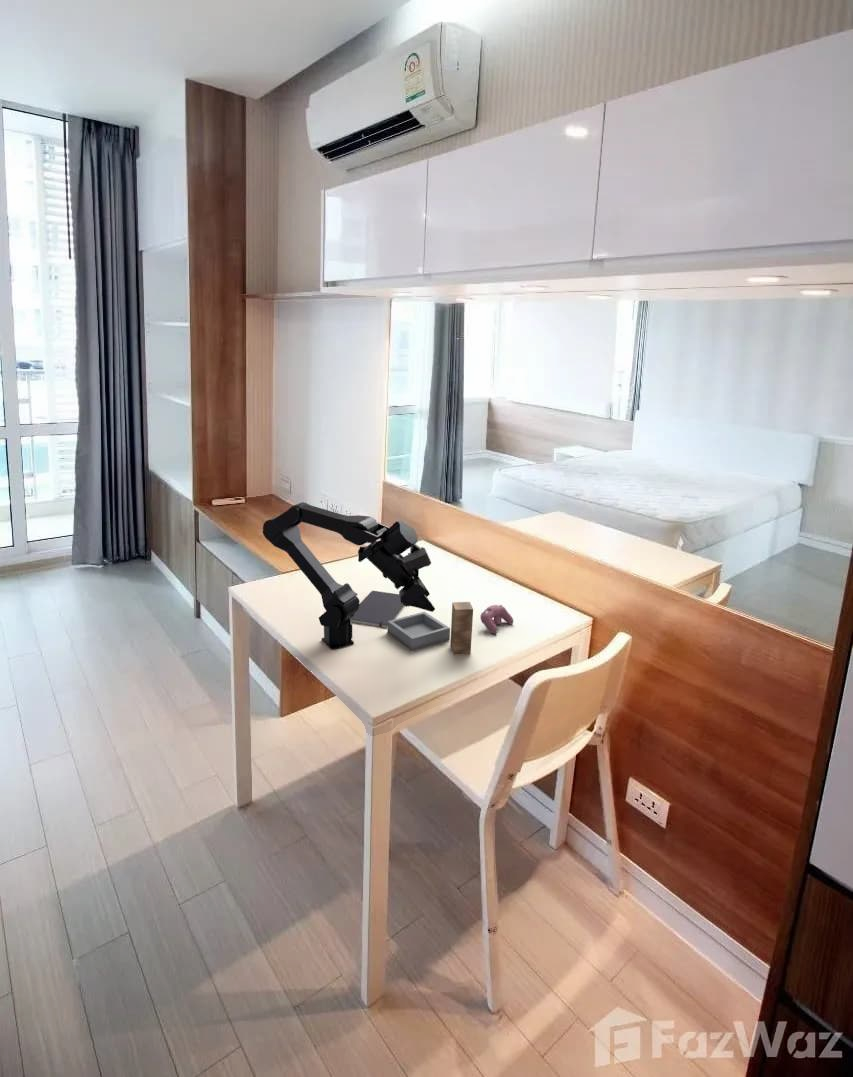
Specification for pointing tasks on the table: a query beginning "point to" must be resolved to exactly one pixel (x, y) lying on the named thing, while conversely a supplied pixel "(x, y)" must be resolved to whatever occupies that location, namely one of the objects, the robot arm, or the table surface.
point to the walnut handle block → (461, 628)
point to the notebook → (378, 609)
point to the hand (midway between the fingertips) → (431, 602)
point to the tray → (418, 631)
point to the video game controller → (495, 617)
